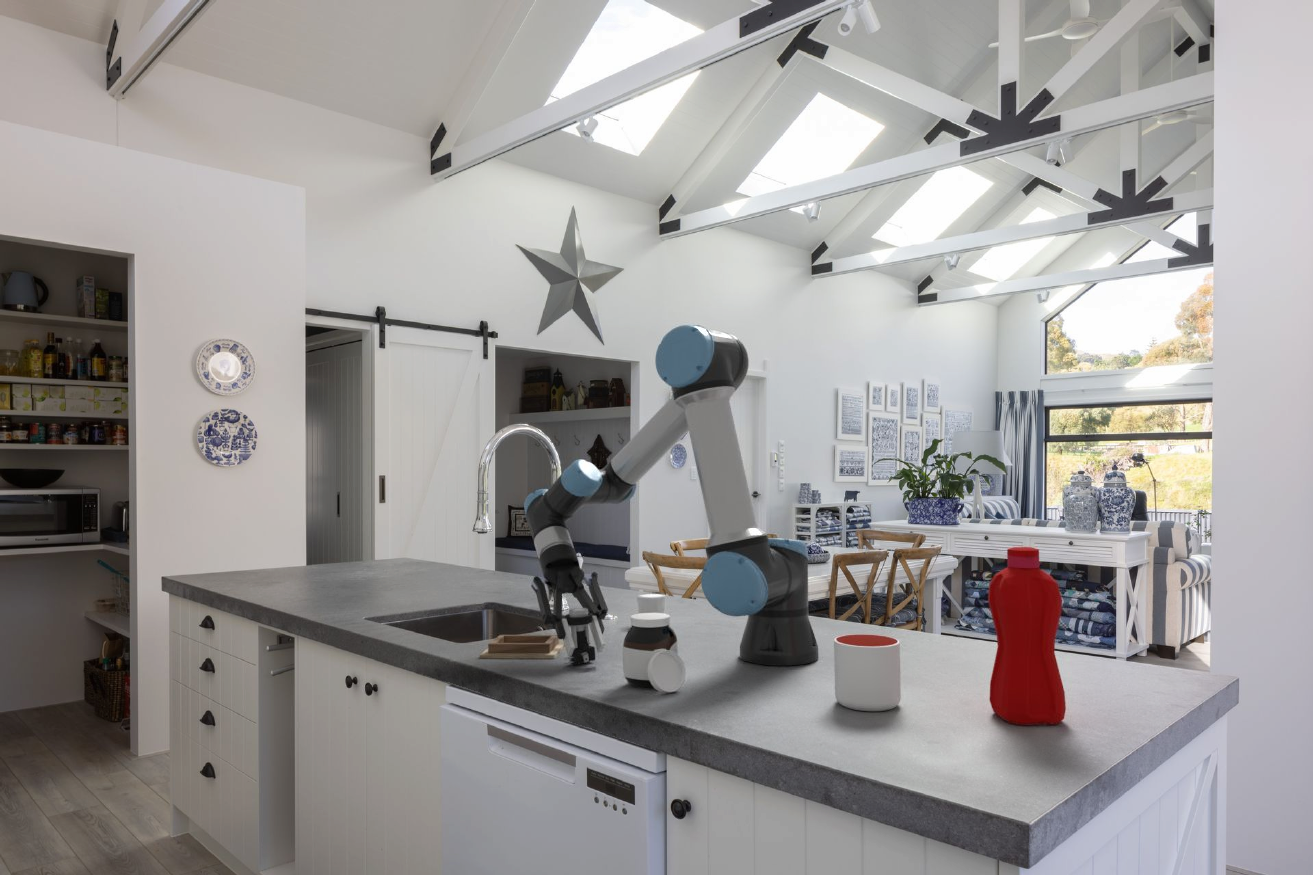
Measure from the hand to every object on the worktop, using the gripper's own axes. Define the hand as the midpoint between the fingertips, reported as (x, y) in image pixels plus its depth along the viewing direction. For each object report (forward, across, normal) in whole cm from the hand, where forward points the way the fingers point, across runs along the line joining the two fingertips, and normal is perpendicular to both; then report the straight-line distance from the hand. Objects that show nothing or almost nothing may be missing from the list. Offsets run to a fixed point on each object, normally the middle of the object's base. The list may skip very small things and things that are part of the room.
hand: (586, 649), depth 164 cm
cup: (+34, -30, +29) cm, 54 cm away
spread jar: (+15, -6, +10) cm, 20 cm away
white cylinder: (-21, -29, -26) cm, 44 cm away
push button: (0, 0, -5) cm, 5 cm away
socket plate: (-12, +6, -16) cm, 21 cm away
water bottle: (+45, -46, +40) cm, 76 cm away
